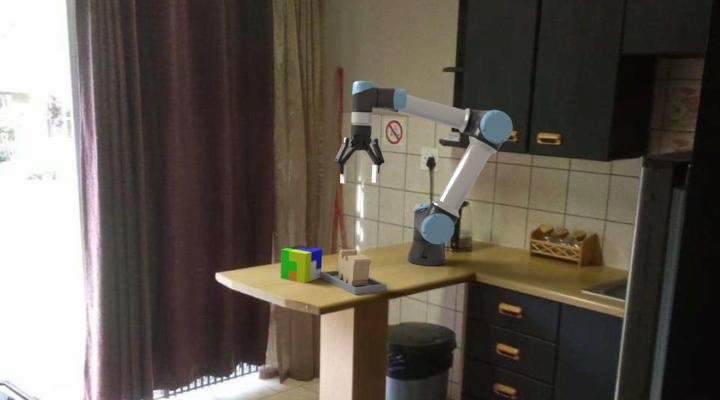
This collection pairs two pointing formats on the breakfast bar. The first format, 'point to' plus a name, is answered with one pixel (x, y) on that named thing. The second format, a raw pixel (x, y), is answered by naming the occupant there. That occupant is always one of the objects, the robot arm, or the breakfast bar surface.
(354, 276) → the toy train
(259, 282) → the breakfast bar surface
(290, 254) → the puzzle toy
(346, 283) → the tray
